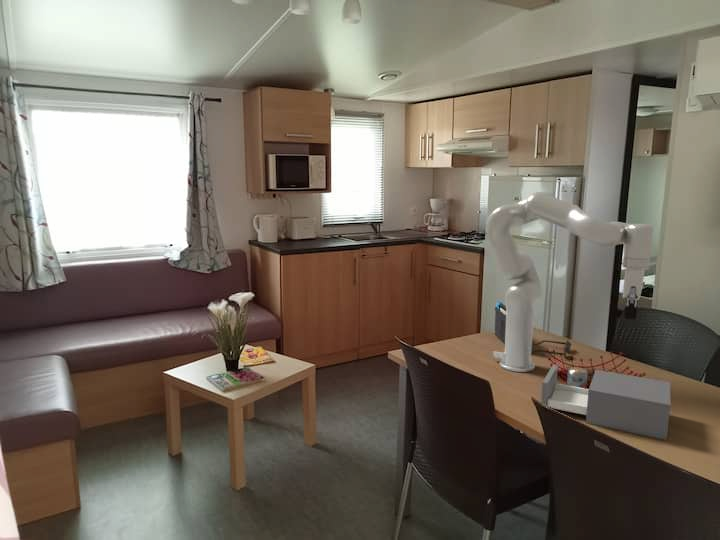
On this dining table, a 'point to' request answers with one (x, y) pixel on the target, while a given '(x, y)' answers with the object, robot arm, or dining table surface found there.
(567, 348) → the eyeglasses
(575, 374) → the tin
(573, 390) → the tray
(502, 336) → the game console
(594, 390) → the block
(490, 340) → the dining table surface
